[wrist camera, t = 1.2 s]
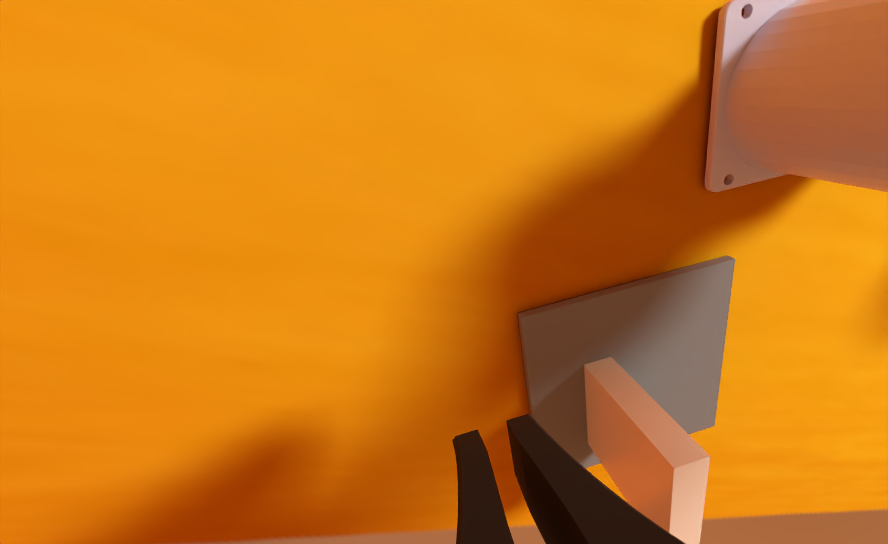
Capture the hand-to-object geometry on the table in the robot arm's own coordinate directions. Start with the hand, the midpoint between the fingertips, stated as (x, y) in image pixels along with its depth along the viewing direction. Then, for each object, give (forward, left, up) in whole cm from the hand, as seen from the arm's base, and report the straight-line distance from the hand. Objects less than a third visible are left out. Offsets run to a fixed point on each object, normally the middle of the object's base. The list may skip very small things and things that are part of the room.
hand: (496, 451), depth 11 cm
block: (-8, +9, -9) cm, 15 cm away
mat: (-10, +8, -9) cm, 16 cm away
